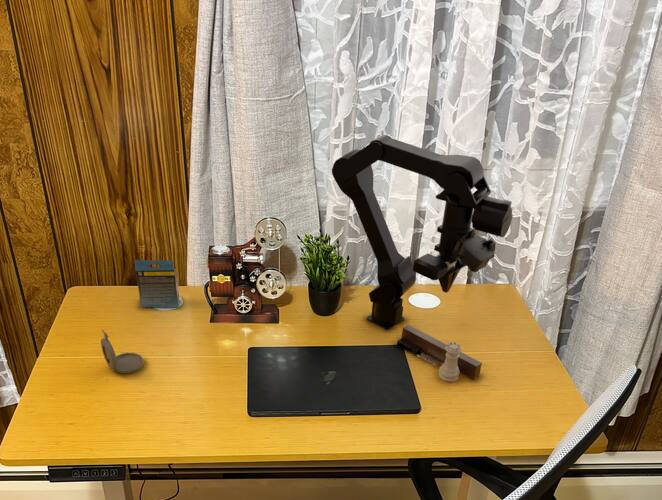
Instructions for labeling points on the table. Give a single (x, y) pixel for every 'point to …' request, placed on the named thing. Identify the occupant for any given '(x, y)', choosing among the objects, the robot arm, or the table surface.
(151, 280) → the blue product box
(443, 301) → the table surface
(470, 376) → the walnut rail
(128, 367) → the pocket watch
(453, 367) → the rook chess piece
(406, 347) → the letter opener
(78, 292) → the table surface
